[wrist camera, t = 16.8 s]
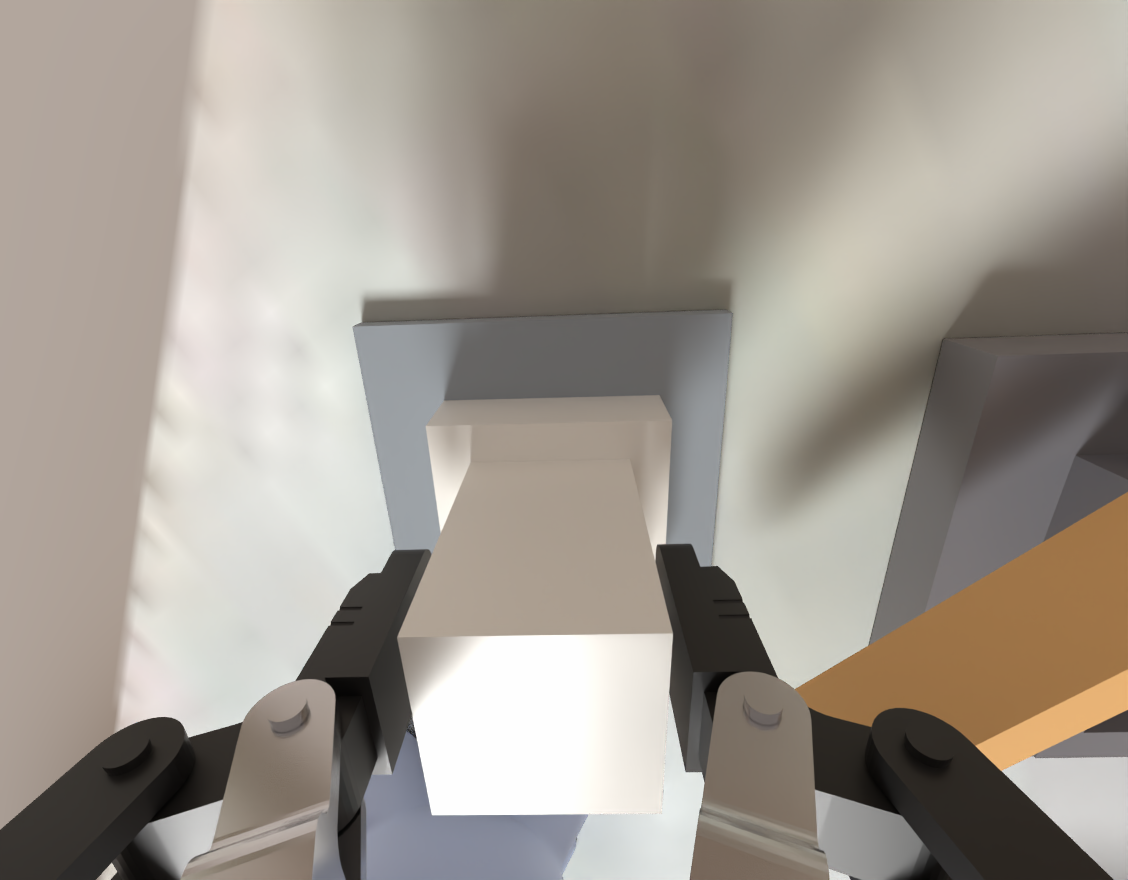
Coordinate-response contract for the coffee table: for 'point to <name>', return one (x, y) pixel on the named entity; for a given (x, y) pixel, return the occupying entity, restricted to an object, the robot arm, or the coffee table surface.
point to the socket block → (1010, 473)
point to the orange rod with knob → (1007, 649)
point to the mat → (548, 395)
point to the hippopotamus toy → (456, 834)
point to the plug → (544, 608)
